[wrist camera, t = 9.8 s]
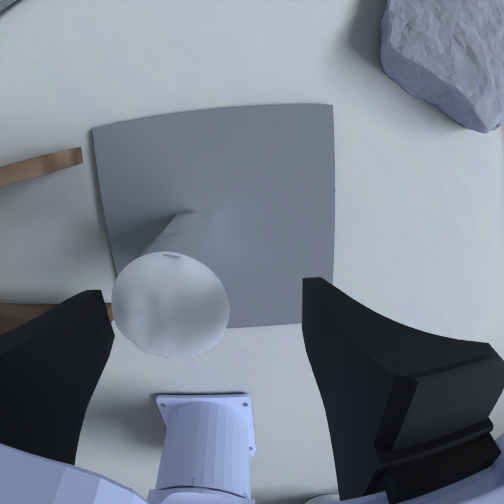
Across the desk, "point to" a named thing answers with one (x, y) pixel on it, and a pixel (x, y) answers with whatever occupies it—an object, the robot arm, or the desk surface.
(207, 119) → the mat
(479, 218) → the desk surface
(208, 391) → the desk surface
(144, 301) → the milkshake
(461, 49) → the stone block
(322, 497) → the teacup
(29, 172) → the open box
